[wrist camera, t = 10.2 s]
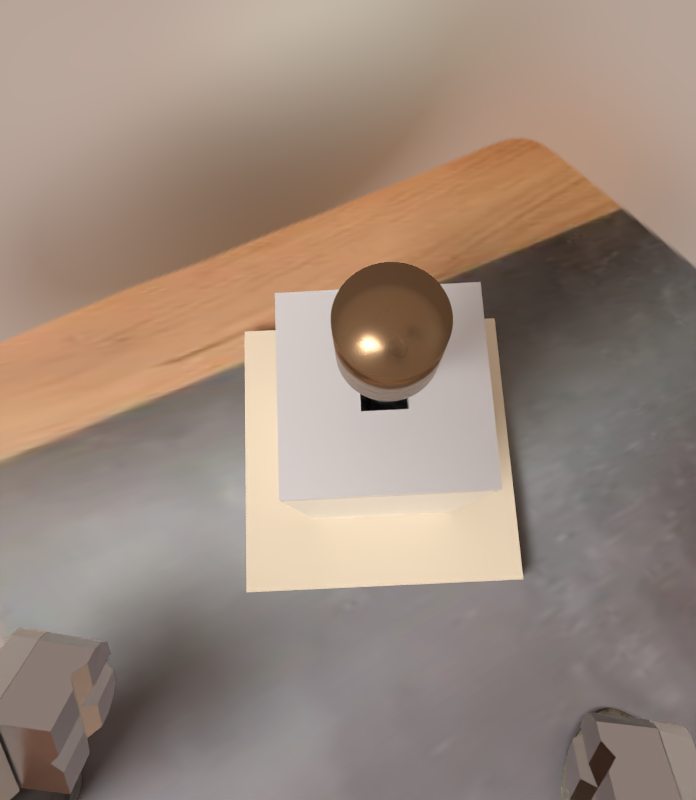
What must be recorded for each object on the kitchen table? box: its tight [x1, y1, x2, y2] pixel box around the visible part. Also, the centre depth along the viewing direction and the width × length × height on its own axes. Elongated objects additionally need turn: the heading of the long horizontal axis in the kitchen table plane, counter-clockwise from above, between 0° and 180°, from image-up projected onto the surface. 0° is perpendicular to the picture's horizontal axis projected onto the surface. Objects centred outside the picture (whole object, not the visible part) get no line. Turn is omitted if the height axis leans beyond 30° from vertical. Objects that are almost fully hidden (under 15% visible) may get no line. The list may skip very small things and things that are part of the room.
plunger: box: [331, 262, 453, 411], centre depth 27 cm, size 7×7×18 cm
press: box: [245, 282, 523, 592], centre depth 34 cm, size 18×18×18 cm
